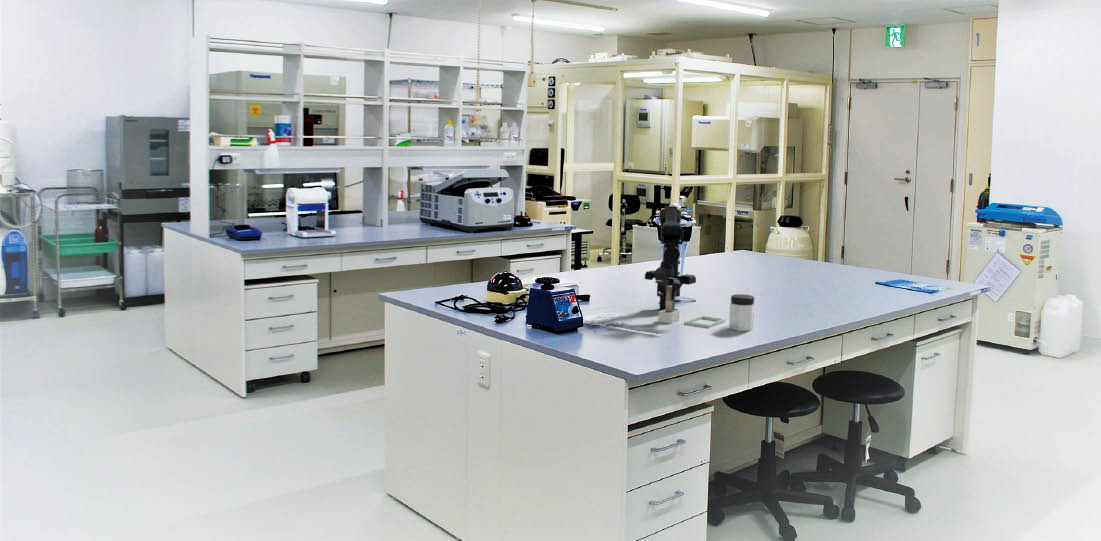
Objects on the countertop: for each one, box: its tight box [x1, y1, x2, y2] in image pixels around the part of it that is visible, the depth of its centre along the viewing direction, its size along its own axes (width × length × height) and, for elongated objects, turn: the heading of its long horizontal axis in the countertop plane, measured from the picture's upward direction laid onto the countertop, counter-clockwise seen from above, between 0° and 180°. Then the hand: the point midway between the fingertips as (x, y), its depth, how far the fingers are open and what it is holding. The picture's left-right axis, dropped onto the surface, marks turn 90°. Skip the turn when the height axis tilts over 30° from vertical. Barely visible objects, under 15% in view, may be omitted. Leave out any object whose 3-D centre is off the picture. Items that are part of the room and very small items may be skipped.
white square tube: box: [657, 310, 680, 324], centre depth 331 cm, size 6×6×4 cm
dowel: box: [665, 286, 673, 313], centre depth 330 cm, size 3×3×10 cm
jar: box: [728, 293, 755, 332], centre depth 323 cm, size 9×8×12 cm
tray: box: [683, 315, 727, 329], centre depth 329 cm, size 14×10×2 cm
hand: (669, 300), depth 330 cm, fingers closed on dowel, 3 cm apart
